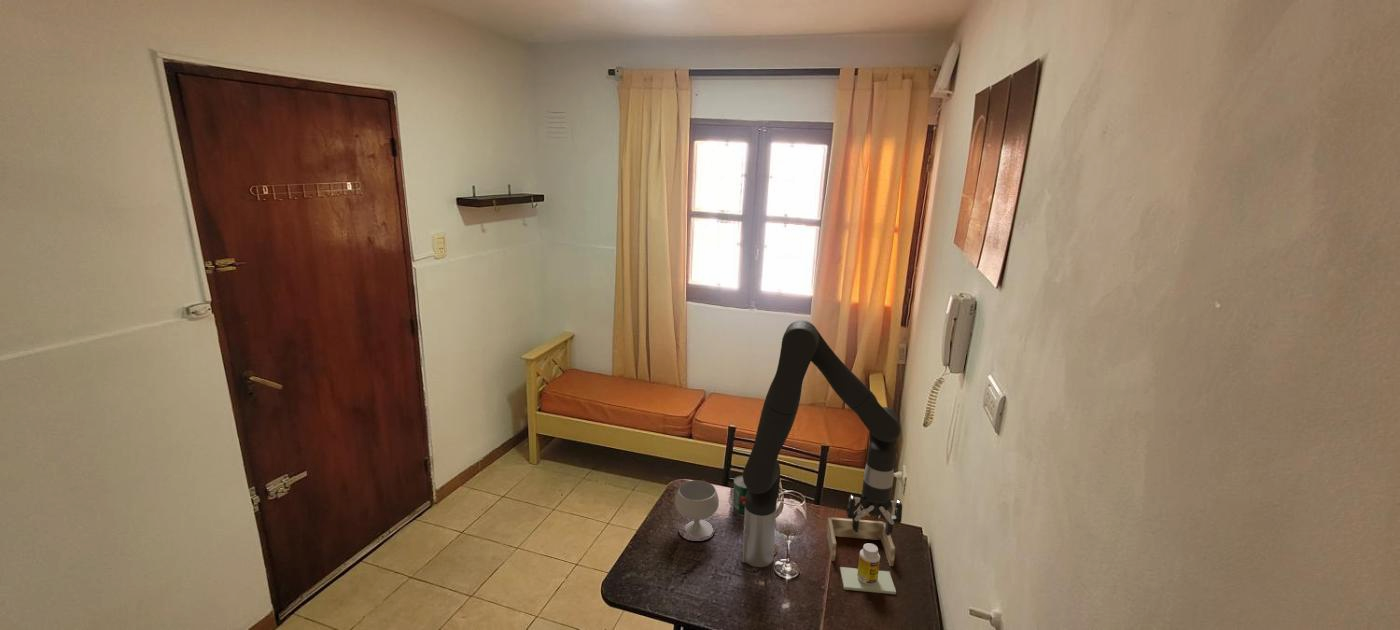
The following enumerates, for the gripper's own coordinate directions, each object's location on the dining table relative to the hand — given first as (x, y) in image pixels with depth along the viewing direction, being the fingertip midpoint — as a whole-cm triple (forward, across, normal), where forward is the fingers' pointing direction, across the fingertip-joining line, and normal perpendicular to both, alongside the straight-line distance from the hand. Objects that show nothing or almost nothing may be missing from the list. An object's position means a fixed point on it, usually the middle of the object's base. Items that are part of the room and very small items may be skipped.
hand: (871, 532), depth 146 cm
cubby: (+16, 0, +14) cm, 21 cm away
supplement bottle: (+15, 0, 0) cm, 15 cm away
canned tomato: (+17, -35, +30) cm, 49 cm away
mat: (+16, 0, 0) cm, 16 cm away
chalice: (+17, -50, +16) cm, 56 cm away
